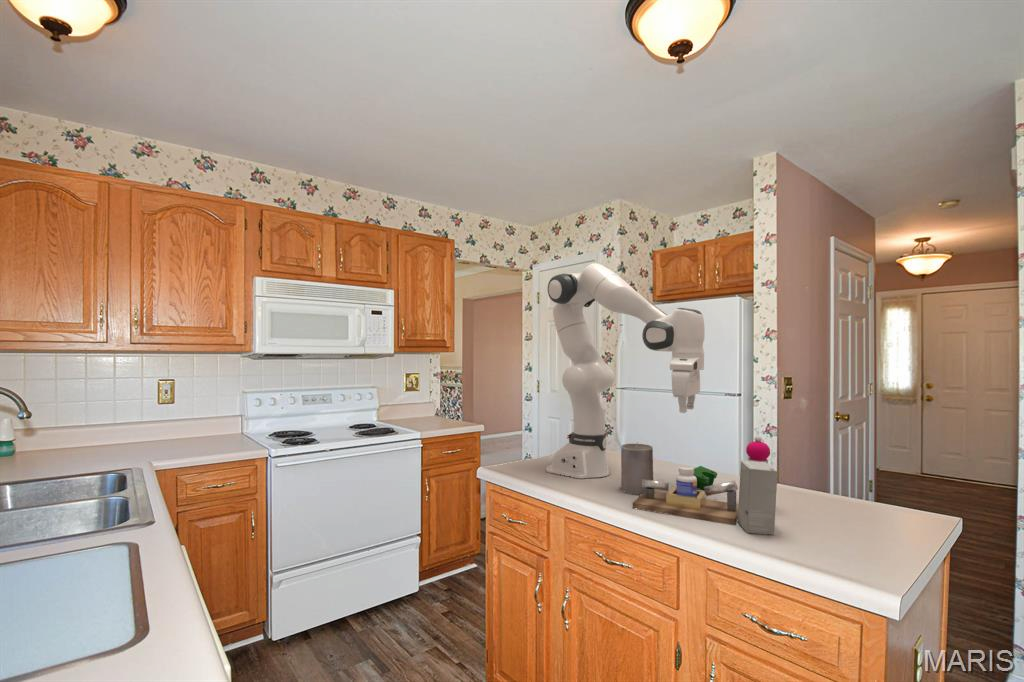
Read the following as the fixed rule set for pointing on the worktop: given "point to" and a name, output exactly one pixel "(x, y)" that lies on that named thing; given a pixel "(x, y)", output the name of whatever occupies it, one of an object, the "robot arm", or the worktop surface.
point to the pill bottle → (686, 482)
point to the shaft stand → (690, 502)
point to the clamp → (704, 477)
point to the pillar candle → (636, 467)
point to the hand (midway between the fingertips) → (686, 410)
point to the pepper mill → (758, 450)
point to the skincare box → (757, 497)
